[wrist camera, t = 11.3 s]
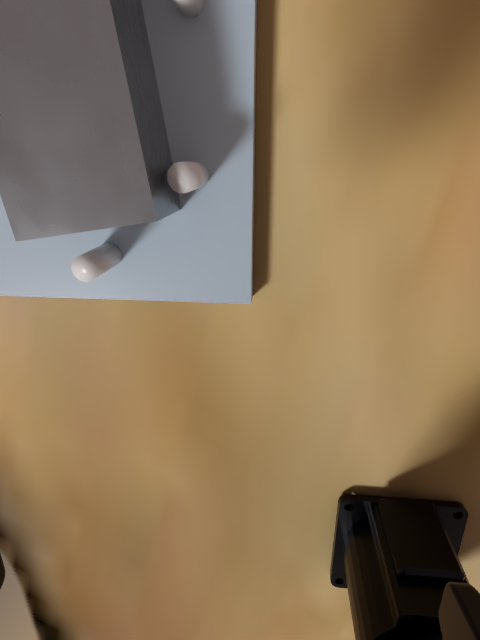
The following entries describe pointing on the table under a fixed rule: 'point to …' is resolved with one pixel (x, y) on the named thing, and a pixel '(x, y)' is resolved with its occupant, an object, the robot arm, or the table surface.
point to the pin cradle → (172, 178)
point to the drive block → (80, 119)
